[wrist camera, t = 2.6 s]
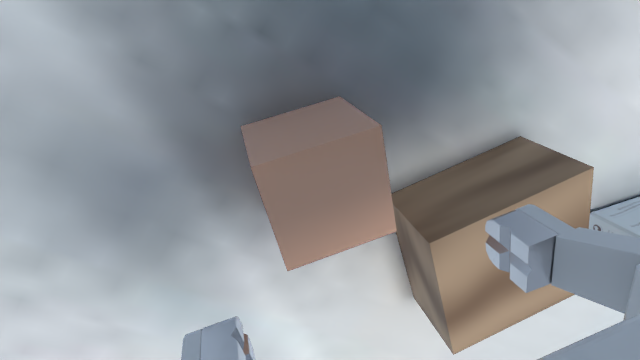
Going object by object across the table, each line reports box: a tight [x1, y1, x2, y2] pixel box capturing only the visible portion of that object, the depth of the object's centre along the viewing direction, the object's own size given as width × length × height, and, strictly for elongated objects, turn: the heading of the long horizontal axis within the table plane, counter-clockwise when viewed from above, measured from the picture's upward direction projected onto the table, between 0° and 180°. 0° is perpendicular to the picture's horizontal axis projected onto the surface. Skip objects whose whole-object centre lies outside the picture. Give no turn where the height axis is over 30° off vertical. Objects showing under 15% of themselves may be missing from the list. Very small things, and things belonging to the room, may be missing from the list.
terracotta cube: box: [241, 96, 397, 271], centre depth 16 cm, size 5×5×5 cm
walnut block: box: [391, 136, 594, 355], centre depth 21 cm, size 9×9×5 cm
